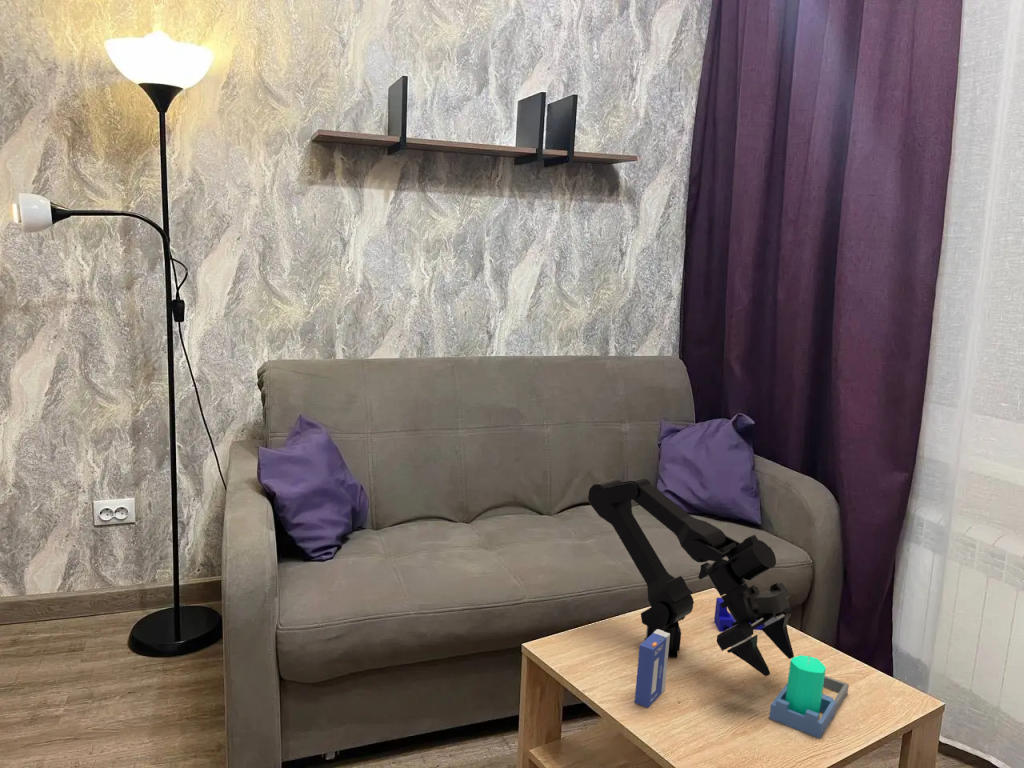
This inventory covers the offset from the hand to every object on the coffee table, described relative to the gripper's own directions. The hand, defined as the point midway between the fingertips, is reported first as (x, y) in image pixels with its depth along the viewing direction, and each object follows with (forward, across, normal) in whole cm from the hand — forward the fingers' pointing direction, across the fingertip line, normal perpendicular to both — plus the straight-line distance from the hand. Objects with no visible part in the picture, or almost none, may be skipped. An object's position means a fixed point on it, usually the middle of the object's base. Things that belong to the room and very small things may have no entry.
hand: (780, 666), depth 150 cm
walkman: (-6, -16, +18) cm, 25 cm away
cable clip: (-8, +22, +20) cm, 31 cm away
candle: (+9, 0, +2) cm, 9 cm away
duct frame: (+9, +5, +2) cm, 10 cm away
